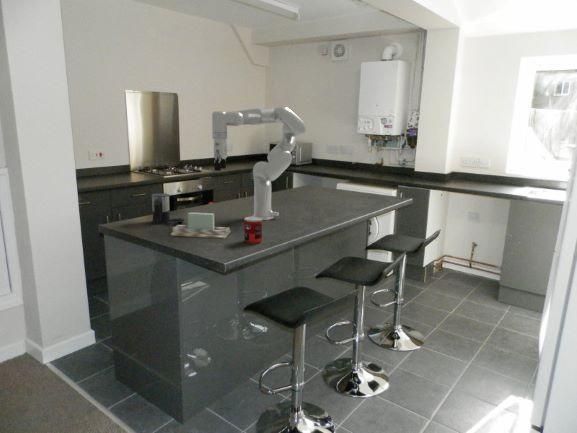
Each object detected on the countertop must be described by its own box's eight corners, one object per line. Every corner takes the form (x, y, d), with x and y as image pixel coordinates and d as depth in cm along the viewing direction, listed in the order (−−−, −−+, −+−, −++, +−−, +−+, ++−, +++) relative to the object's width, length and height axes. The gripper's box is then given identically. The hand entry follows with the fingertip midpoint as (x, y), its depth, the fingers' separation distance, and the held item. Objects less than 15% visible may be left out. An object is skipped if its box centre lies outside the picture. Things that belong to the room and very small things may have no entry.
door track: (230, 231, 206) (230, 226, 205) (224, 238, 194) (224, 232, 194) (179, 229, 208) (179, 223, 208) (170, 235, 197) (170, 229, 196)
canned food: (244, 239, 193) (244, 216, 191) (261, 239, 194) (261, 216, 191) (244, 244, 186) (244, 220, 183) (262, 244, 186) (262, 220, 184)
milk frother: (151, 220, 224) (150, 193, 221) (181, 218, 230) (180, 192, 227) (154, 227, 211) (152, 198, 208) (185, 224, 217) (185, 196, 214)
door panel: (214, 231, 202) (214, 213, 200) (212, 233, 199) (212, 214, 197) (190, 230, 203) (189, 212, 201) (188, 232, 200) (187, 213, 198)
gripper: (222, 136, 205) (222, 171, 209) (231, 135, 222) (231, 168, 226) (207, 136, 206) (208, 171, 210) (217, 135, 223) (217, 167, 227)
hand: (220, 169), depth 218 cm, fingers open, 9 cm apart
